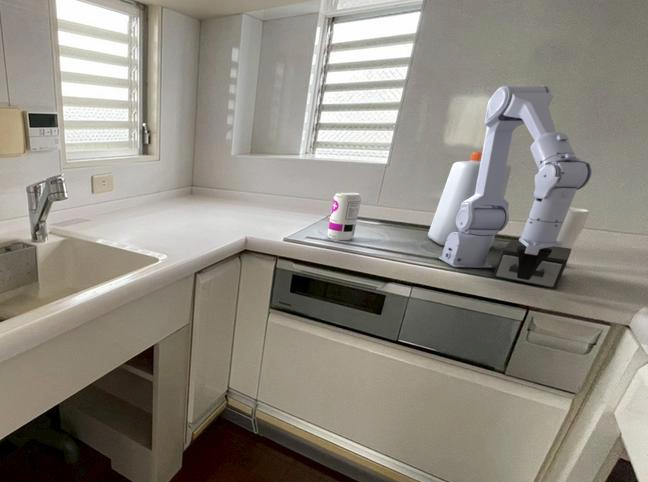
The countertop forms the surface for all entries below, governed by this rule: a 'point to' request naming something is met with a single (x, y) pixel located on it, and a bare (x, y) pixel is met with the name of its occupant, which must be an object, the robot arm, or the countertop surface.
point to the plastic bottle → (459, 196)
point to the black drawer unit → (556, 255)
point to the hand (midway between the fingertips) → (523, 278)
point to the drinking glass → (572, 226)
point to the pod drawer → (542, 275)
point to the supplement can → (344, 215)
